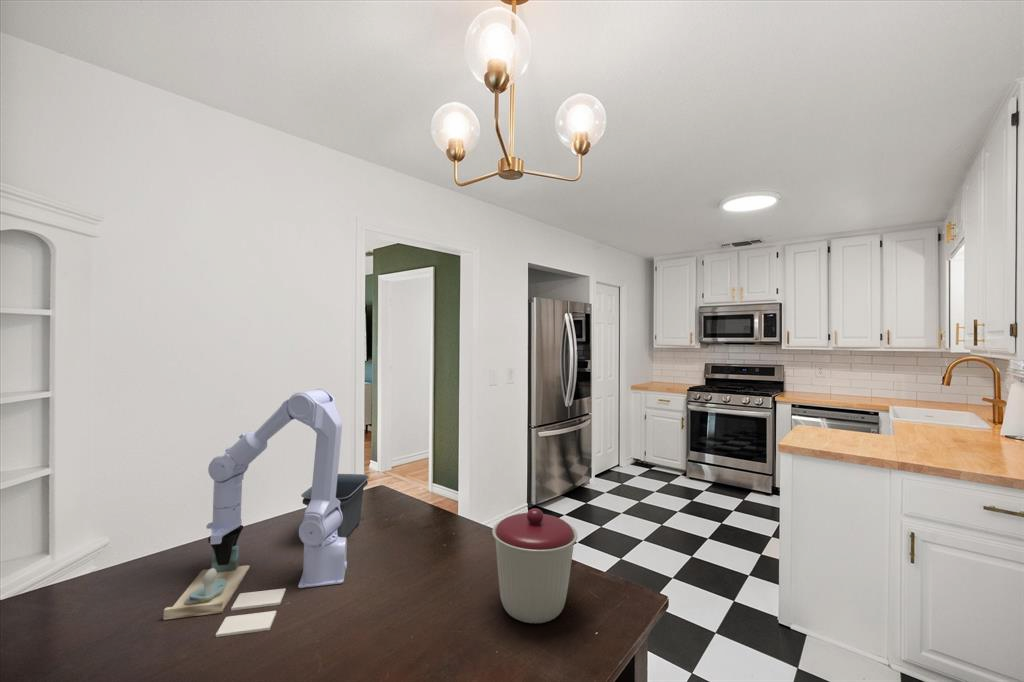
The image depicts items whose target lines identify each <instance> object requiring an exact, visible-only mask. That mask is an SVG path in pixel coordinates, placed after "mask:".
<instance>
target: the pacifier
mask: <svg viewBox="0 0 1024 682" xmlns="http://www.w3.org/2000/svg"><path fill="white" fill-rule="evenodd" d="M209 569H210V570H208V571H207V573H206V574H205V575H204V577H203V580H202V584H203V585H204V586H203V587H201V588H200V589H198V590H197V591H195V592H193V593H192V594H190V595H189V596H188V597H187V598H186V599H185V603H186V604H195V603H198V602H199V603H204V602H207V601H210V600H211V599H213V598H214V597H215V596H216V595H217V594H219V593H220V592H221V591H223V590H224V588H225V587H226V583H227V582H226V580H225V579H222V578H221V579H217V580H214V579H215V578H216V575H217V571H216V569H214V568H212V567H211V568H209ZM221 586H222V587H221ZM219 587H221V588H220V589H218V588H219ZM192 598H193V599H196V600H191V599H192Z"/></svg>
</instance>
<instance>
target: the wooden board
mask: <svg viewBox="0 0 1024 682" xmlns="http://www.w3.org/2000/svg"><path fill="white" fill-rule="evenodd" d="M239 553H240V546H239V545H236V546H233V547H232V552H231V557H230V561H229V563H228V565H218V563H217V560H216V556H215V552H214V550H213V549H212V551H211V568H209V569H202V570H201V571H200V572H199V574H198V575H197V576H196V577H195V579H193V581H192V582H191V584H189V586H188V587H187V588H186V590H185V591H184V592H183V593H182V594H181V595H180V597H179V598H178V599H177V601H176V602H175V603H174V604H173V605H172V606H167V607H165V608H164V609H163V621H164V620H165V621H166V620H173V619H181V618H188V617H197V616H206V615H213V614H222V613H223V612H224V610H225V608H226V606H227V605H228V603H229V602H230V600H231V598H232V597H233V595H234V594H235V592H236V591H237V589H238V587H239V586H240V584H241V582H242V581H243V579H244V578H245V575H247V572H248V571H249V569H250V566H251V565H249V564H248V565H240V566H239V557H240V555H239ZM212 568H214V569H216V571H217V575H216V578H215V579H214V580H217V579H221V578H222V579H225V580H226V582H227V583H226V587H225V588H224V590H223V591H221V592H220V593H219V594H217V595H216V596H215V597H214V598H213V599H211V600H210V601H207V602H204V603H199V602H198V603H195V604H186V603H185V599H186V598H187V597H188V596H189V595H190V594H192V593H193V592H195V591H197V590H198V589H200V588H201V587H203V586H204V585H203V584H202V580H203V577H204V575H205V574H206V573H207V571H208V570H210V569H212ZM221 587H222V586H221ZM221 587H219V588H218V589H220V588H221ZM191 600H196V599H193V598H192V599H191Z"/></svg>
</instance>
